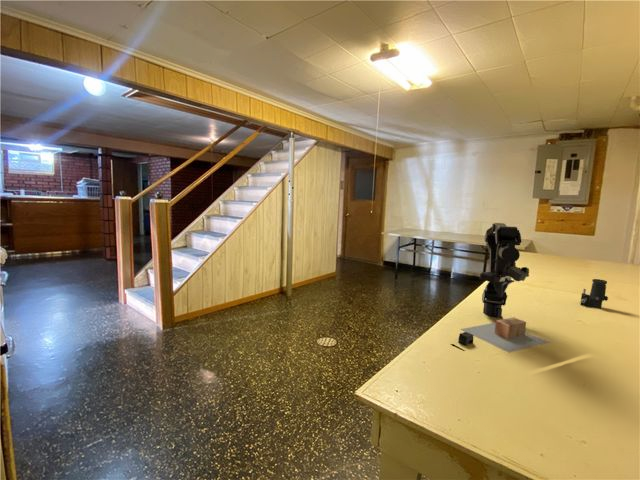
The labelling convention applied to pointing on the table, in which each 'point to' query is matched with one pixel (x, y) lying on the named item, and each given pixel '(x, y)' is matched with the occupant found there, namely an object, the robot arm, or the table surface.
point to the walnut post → (510, 327)
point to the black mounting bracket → (464, 339)
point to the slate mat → (509, 344)
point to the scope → (595, 294)
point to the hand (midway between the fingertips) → (500, 296)
